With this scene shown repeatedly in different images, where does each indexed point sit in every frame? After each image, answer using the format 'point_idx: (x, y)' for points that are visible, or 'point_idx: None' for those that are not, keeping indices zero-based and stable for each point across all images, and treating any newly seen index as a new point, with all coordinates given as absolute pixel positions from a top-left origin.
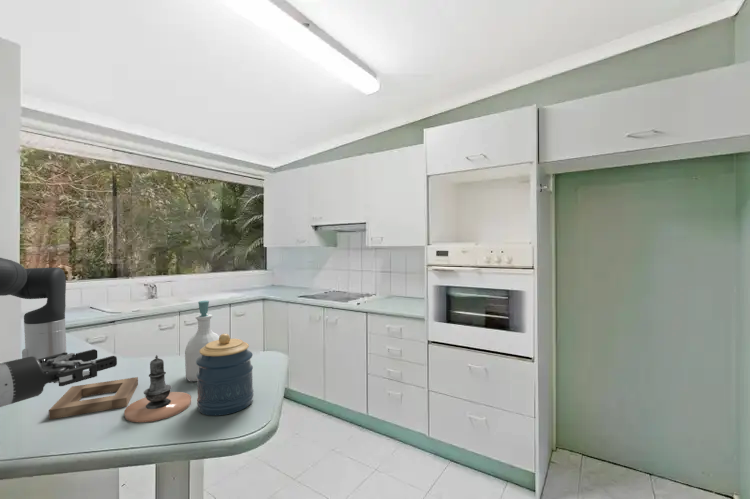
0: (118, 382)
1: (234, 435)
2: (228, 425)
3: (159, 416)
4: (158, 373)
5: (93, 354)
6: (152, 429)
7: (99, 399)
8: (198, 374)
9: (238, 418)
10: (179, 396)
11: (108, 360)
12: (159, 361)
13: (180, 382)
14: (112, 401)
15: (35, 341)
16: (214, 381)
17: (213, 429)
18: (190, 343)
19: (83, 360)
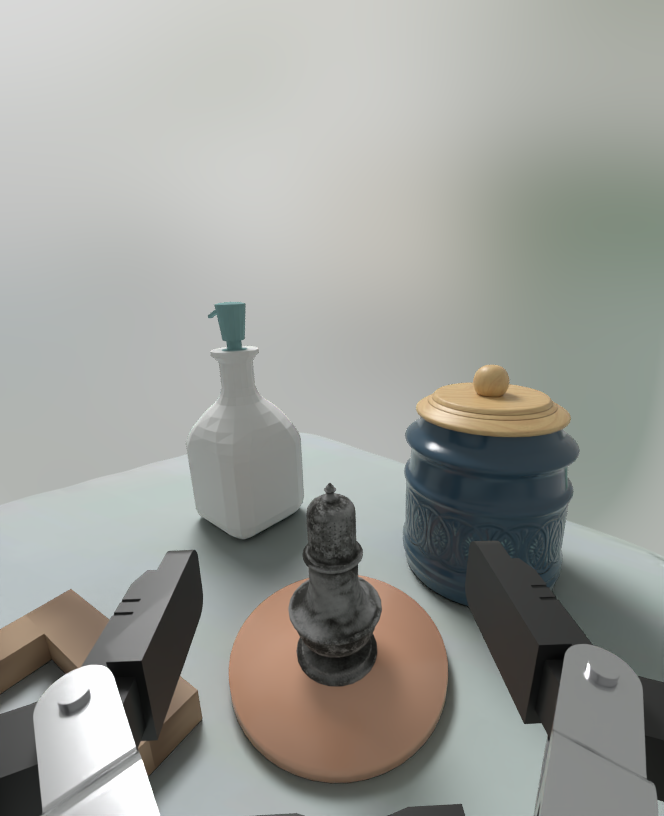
0: (19, 641)
1: None
2: (634, 611)
3: (444, 693)
4: (354, 548)
5: (192, 589)
6: (517, 760)
7: None
8: (481, 504)
9: (596, 581)
10: None
11: (543, 588)
12: (351, 503)
13: (216, 551)
14: (152, 741)
15: None
16: (561, 508)
17: (643, 643)
18: (232, 434)
19: (172, 675)
